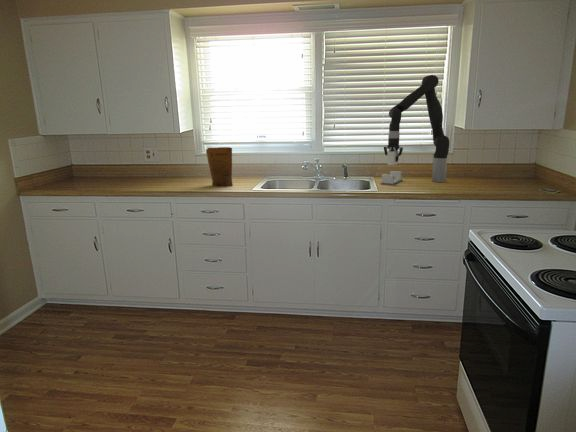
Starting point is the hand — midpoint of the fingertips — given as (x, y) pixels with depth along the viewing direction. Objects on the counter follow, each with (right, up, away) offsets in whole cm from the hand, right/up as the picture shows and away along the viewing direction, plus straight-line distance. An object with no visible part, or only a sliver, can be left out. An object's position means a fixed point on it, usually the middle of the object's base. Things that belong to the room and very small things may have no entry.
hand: (392, 161), depth 306 cm
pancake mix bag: (-123, -17, +5) cm, 125 cm away
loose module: (0, -2, 0) cm, 2 cm away
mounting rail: (0, -15, +4) cm, 16 cm away
